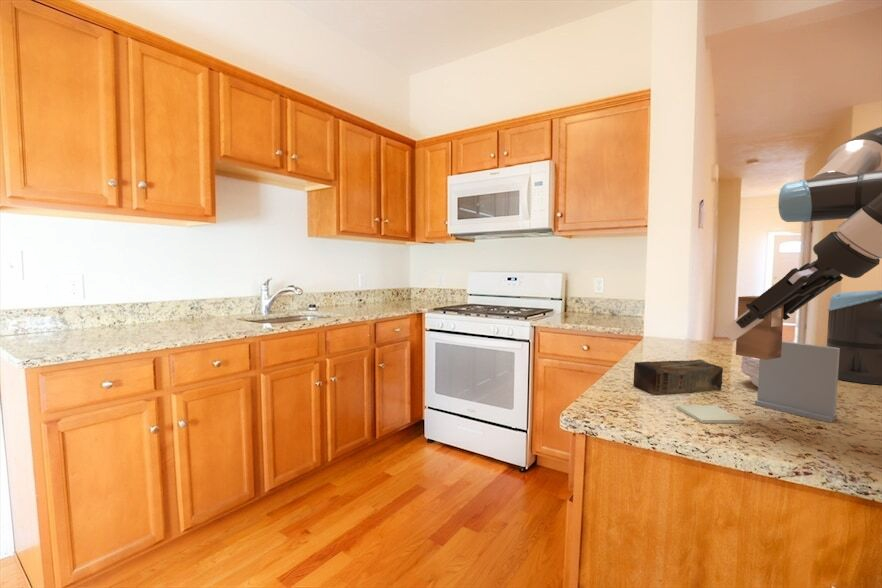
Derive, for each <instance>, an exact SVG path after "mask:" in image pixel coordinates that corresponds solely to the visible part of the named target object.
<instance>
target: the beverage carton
mask: <svg viewBox="0 0 882 588" xmlns="http://www.w3.org/2000/svg"><path fill="white" fill-rule="evenodd" d="M633 369H634V370H633V386H634V387H636V388H639V389H641V390H643V391H645V392H647V393H649V394H651V395H653V394H654V395H668V394H669V393H671V394H683V393H686V392H687V393H697V391H702V392H710V391H711V390H714V391H722V385H723V373H724V372H723V371H724V370H723V369H724V368H723V367H722V366H720V365H716V364H713V363H709V362H707V361H706V360H704V359H701V358H700V359H694V360H693V359H692V360H691V359H690V360H659V361H657V360H655V361H639V362H637V361H636V362H634V367H633ZM711 392H712V391H711ZM687 393H686V394H687Z"/></svg>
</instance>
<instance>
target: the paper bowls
mask: <svg viewBox="0 0 882 588" xmlns="http://www.w3.org/2000/svg"><path fill="white" fill-rule="evenodd" d="M759 360H760V359H758V358H752V357H746V356H741V367H740V368H741V369H740V370H741V373H742V374H744V375H746V376H748V377H749V379H750V381H751V383H752V384H753V385H754V386H755V387H757V388H758V379H759Z"/></svg>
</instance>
